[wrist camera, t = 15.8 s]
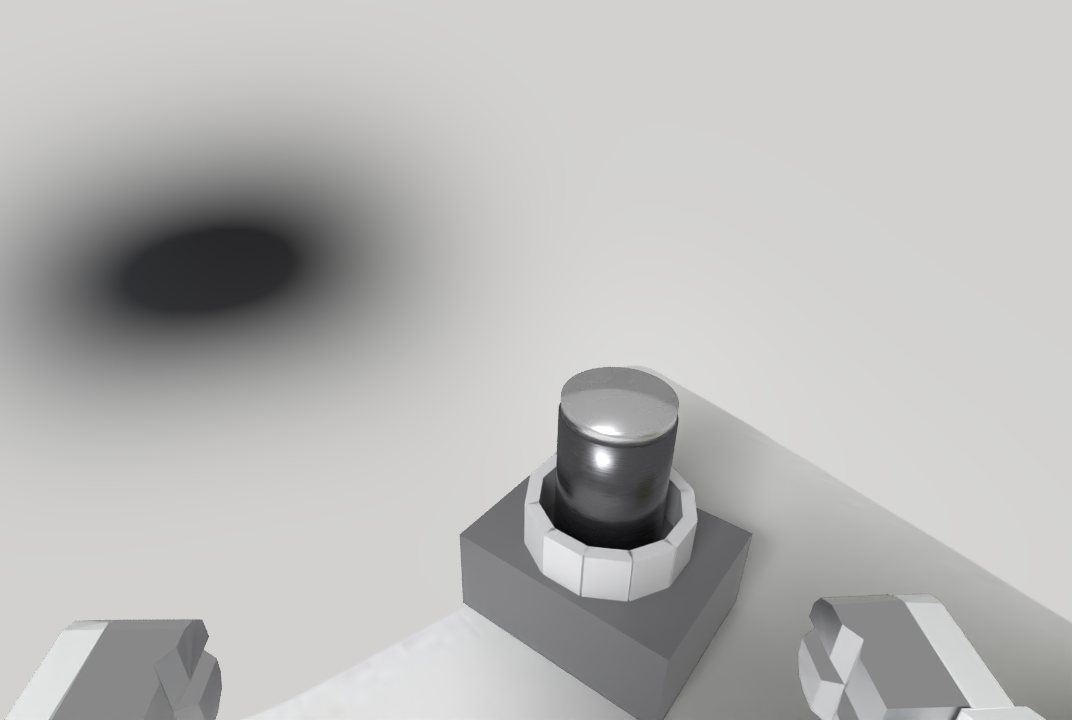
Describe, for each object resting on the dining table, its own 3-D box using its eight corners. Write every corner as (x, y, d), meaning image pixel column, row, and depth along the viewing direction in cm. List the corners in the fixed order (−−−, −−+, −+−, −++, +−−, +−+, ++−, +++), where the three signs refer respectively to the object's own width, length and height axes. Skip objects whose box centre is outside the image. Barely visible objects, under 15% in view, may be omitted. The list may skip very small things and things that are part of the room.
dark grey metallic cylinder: (532, 541, 40) (535, 402, 35) (590, 485, 45) (600, 354, 40) (625, 594, 37) (643, 450, 32) (677, 527, 42) (701, 391, 37)
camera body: (463, 602, 44) (457, 496, 39) (560, 509, 52) (565, 411, 47) (655, 731, 37) (676, 620, 32) (735, 600, 44) (761, 496, 40)
